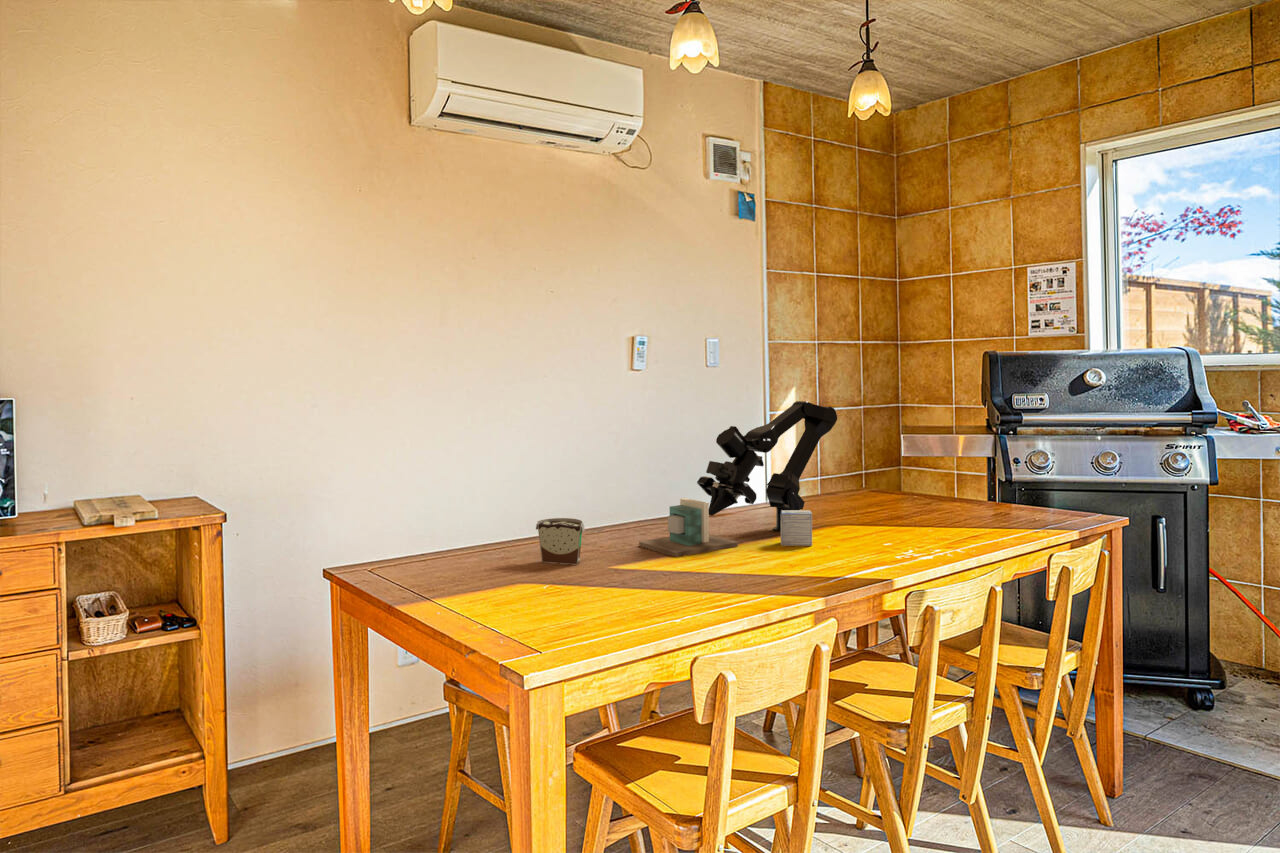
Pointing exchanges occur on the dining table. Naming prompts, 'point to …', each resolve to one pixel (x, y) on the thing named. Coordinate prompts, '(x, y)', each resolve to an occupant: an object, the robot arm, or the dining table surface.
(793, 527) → the medicine box
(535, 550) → the dining table surface
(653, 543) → the board
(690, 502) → the cream upright panel
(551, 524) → the food container
